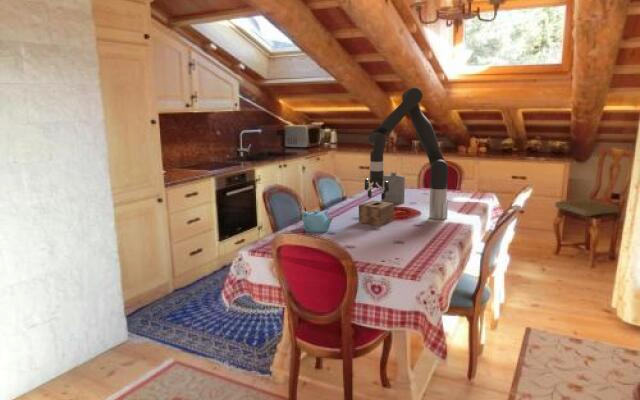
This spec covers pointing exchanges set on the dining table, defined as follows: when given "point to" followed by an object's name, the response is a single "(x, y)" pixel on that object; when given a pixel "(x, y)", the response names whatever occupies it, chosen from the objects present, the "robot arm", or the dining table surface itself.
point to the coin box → (376, 213)
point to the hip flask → (394, 188)
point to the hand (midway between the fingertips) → (376, 198)
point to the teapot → (316, 221)
